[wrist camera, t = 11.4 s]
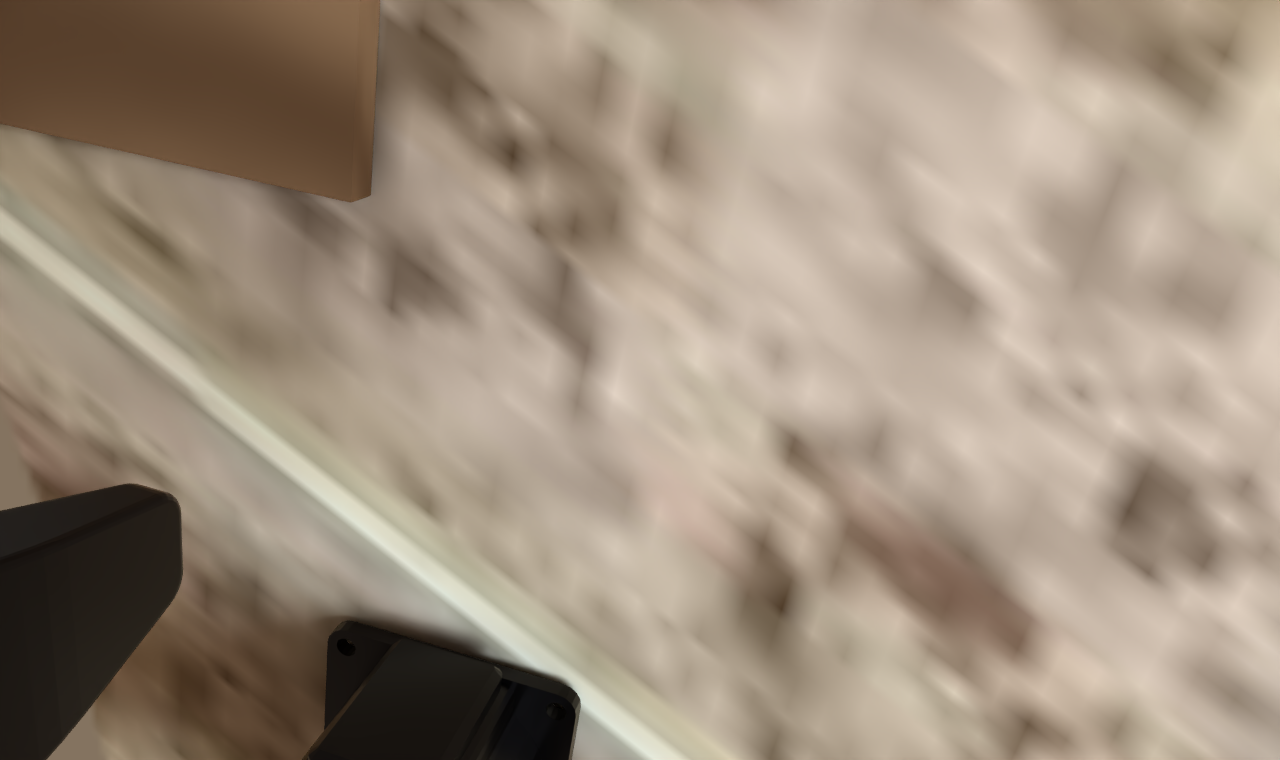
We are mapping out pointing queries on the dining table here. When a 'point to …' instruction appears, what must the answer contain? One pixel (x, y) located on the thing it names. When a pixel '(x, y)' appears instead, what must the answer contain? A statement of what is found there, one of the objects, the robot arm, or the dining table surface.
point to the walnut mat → (203, 83)
